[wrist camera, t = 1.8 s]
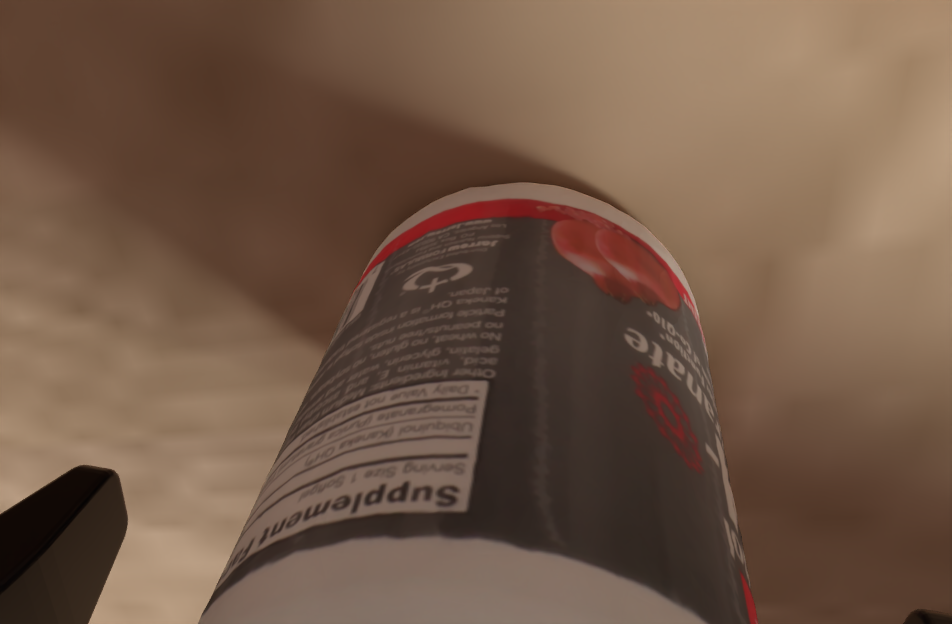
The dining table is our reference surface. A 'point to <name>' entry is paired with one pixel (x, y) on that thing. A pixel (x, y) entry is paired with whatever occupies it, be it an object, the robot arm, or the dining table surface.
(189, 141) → the dining table surface
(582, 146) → the dining table surface
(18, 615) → the robot arm
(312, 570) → the pill bottle
